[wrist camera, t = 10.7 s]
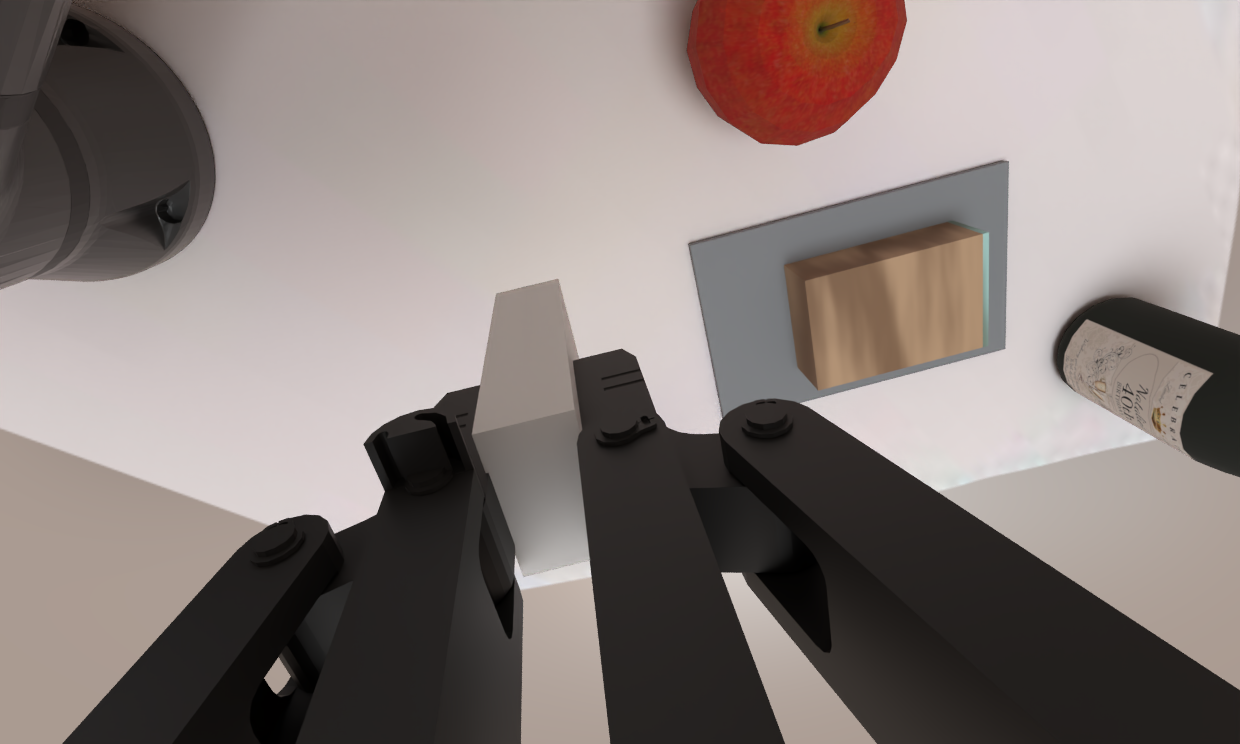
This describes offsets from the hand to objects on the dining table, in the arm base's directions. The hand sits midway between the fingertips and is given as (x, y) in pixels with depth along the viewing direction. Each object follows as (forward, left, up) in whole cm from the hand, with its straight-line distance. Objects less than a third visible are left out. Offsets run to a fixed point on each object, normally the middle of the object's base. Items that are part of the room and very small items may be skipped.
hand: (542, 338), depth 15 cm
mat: (+19, -13, -28) cm, 36 cm away
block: (+14, -13, -25) cm, 32 cm away
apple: (+14, +5, -28) cm, 32 cm away
